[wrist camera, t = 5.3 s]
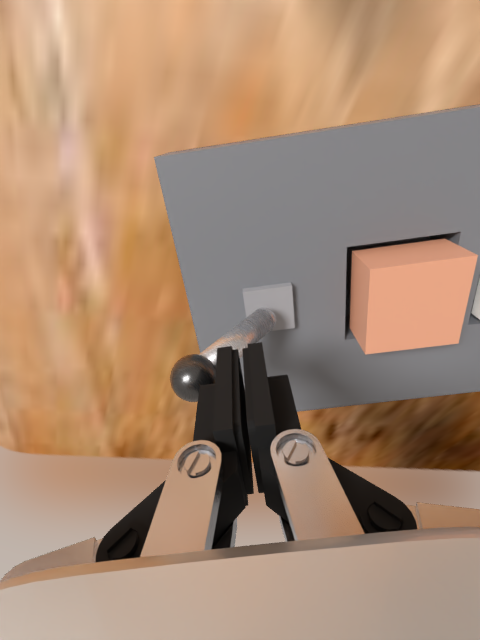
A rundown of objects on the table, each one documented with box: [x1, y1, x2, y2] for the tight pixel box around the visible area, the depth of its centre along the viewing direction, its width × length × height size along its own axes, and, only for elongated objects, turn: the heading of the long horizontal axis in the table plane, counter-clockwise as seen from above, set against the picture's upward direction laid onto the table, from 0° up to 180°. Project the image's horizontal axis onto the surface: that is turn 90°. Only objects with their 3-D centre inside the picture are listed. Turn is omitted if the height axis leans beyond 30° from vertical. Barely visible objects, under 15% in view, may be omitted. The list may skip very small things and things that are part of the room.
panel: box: [154, 104, 480, 411], centre depth 18 cm, size 21×15×4 cm
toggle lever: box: [170, 308, 276, 402], centre depth 14 cm, size 2×2×6 cm
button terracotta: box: [350, 238, 478, 354], centre depth 16 cm, size 4×4×2 cm
